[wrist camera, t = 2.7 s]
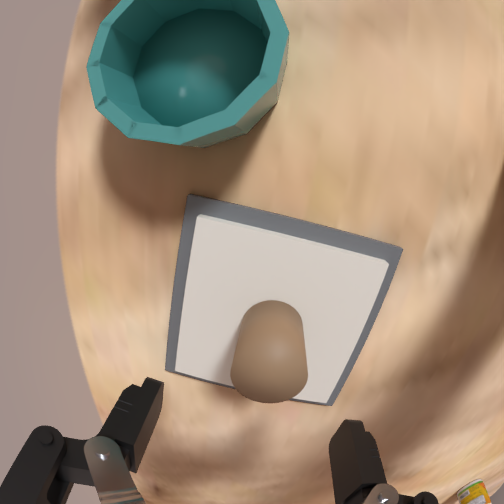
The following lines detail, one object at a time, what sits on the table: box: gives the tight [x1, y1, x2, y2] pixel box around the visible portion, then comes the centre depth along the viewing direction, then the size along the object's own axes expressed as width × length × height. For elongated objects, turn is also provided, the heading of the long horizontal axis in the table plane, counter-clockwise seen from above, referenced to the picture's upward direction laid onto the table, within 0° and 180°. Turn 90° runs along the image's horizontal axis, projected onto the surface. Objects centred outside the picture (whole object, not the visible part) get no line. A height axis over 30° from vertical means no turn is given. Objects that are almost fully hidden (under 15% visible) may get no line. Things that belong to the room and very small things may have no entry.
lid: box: [175, 214, 389, 403], centre depth 17 cm, size 12×12×6 cm
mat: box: [165, 194, 403, 406], centre depth 20 cm, size 14×14×1 cm
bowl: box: [87, 0, 289, 148], centre depth 14 cm, size 10×10×5 cm
